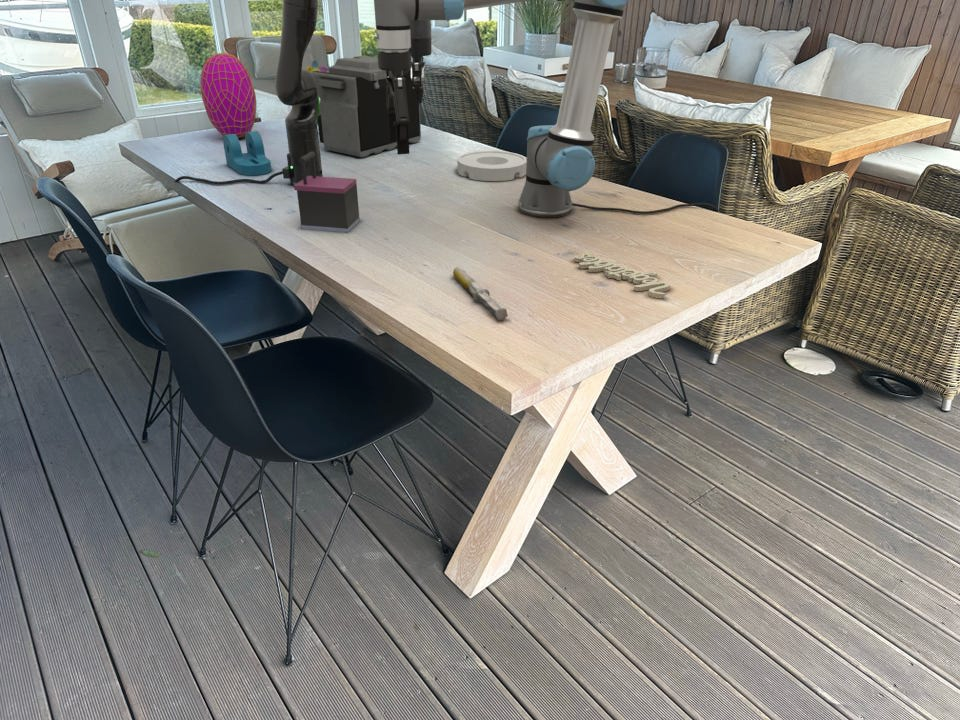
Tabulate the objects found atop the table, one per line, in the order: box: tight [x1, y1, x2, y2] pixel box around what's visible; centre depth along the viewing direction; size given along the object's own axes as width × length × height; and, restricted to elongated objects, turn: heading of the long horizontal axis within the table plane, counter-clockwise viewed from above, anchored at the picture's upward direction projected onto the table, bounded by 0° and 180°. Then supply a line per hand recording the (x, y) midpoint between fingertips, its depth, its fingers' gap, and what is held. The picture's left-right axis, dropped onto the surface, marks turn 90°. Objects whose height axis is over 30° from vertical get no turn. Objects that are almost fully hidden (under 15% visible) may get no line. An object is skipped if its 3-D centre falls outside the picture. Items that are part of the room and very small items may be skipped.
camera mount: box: [222, 131, 272, 176], centre depth 226 cm, size 18×10×10 cm, turn 35°
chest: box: [296, 183, 361, 233], centre depth 180 cm, size 13×9×10 cm
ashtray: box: [456, 150, 527, 182], centre depth 228 cm, size 23×23×4 cm
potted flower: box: [306, 58, 329, 124], centre depth 287 cm, size 9×8×25 cm
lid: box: [293, 152, 358, 194], centre depth 176 cm, size 13×9×8 cm
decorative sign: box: [574, 252, 671, 299], centre depth 155 cm, size 26×1×10 cm
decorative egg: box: [200, 52, 257, 139], centre depth 259 cm, size 19×19×30 cm
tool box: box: [311, 55, 422, 159], centre depth 250 cm, size 37×22×30 cm, turn 144°
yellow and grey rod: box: [452, 266, 509, 321], centre depth 145 cm, size 25×4×3 cm, turn 21°
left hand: (418, 100), depth 187 cm, fingers open, 8 cm apart
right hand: (399, 147), depth 164 cm, fingers open, 13 cm apart
